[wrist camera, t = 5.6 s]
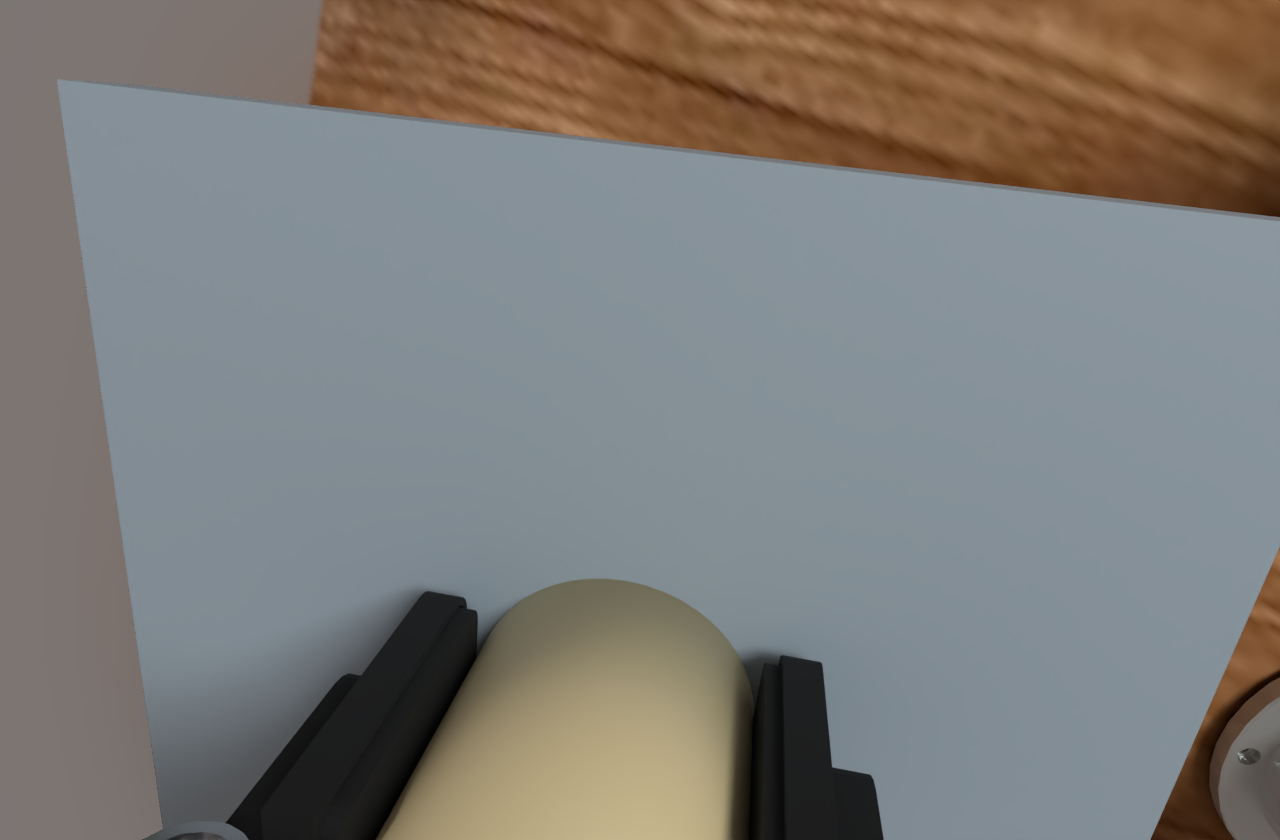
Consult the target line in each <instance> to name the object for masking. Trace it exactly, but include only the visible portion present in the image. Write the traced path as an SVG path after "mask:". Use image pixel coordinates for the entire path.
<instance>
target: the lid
mask: <svg viewBox="0 0 1280 840" xmlns="http://www.w3.org/2000/svg"><path fill="white" fill-rule="evenodd" d="M57 84H58V90H59V98H60V105H61V112H62V119H63V126H64V133H65V139H66V147H67V154H68V161H69V168H70V175H71V182H72V189H73V197H74V204H75V210H76V217H77V225H78V231H79V239H80V246H81V253H82V260H83V266H84V274H85V281H86V288H87V295H88V302H89V309H90V316H91V323H92V331H93V337H94V344H95V352H96V359H97V366H98V373H99V380H100V387H101V394H102V401H103V408H104V415H105V422H106V429H107V436H108V443H109V450H110V458H111V464H112V472H113V479H114V485H115V493H116V500H117V506H118V514H119V521H120V528H121V534H122V541H123V549H124V556H125V563H126V570H127V577H128V584H129V591H130V599H131V606H132V613H133V620H134V627H135V633H136V641H137V648H138V655H139V662H140V669H141V676H142V682H143V690H144V697H145V704H146V711H147V718H148V725H149V732H150V739H151V747H152V754H153V761H154V768H155V774H156V782H157V789H158V795H159V803H160V810H161V817H162V824H163V829H165V828H169V827H172V826H175V825H179V824H182V823H186V822H195V821H209V820H210V821H215V822H220V823H226V821H227V820H228V819H229V818H230V816H231V815H232V814H233V813H234V811H235V810H236V809H237V807H238V806H239V805H240V804H241V802H242V801H243V800H244V799H245V797H246V796H247V795H248V793H249V792H250V791H251V790H252V788H253V787H254V786H255V785H256V783H257V782H258V781H259V779H260V778H261V777H262V776H263V774H264V773H265V772H266V771H267V769H268V768H269V767H270V765H271V764H272V763H273V762H274V760H275V759H276V758H277V757H278V755H279V754H280V753H281V751H282V750H283V749H284V748H285V746H286V745H287V744H288V743H289V741H290V740H291V739H292V737H293V736H294V735H295V734H296V732H297V731H298V730H299V728H300V727H301V726H302V725H303V723H304V722H305V721H306V720H307V718H308V717H309V716H310V714H311V713H312V712H313V711H314V709H315V708H316V707H317V706H318V704H319V703H320V702H321V700H322V699H323V698H324V697H325V695H326V694H327V693H328V692H329V690H330V689H331V688H332V686H333V685H334V684H335V683H336V682H337V681H338V680H339V679H340V678H341V677H342V676H344V675H346V674H348V673H350V674H355V675H360V676H361V675H362V674H363V672H364V671H365V670H366V668H367V667H368V666H369V664H370V663H371V662H372V660H373V659H374V658H375V656H376V655H377V654H378V652H379V651H380V650H381V648H382V647H383V646H384V644H385V643H386V642H387V640H388V639H389V638H390V636H391V635H392V634H393V632H394V631H395V630H396V628H397V627H398V626H399V624H400V623H401V622H402V620H403V619H404V618H405V616H406V615H407V614H408V612H409V611H410V610H411V608H412V607H413V606H414V604H415V603H416V602H417V600H418V599H419V598H420V596H421V595H422V594H423V593H424V592H426V591H431V592H436V593H442V594H447V595H453V596H459V597H464V598H465V599H466V603H467V609H472V610H476V611H477V614H478V631H477V657H476V660H475V662H474V663H473V665H472V667H471V669H470V671H469V672H468V674H467V676H466V678H465V680H464V681H463V683H462V685H461V687H460V689H459V690H458V692H457V694H456V696H455V698H454V699H453V701H452V703H451V705H450V707H449V708H448V710H447V712H446V714H445V716H444V717H443V719H442V721H441V723H440V725H439V726H438V728H437V730H436V732H435V733H434V735H433V737H432V739H431V741H430V742H429V744H428V746H427V748H426V750H425V751H424V753H423V755H422V757H421V759H420V760H419V762H418V764H417V766H416V768H415V769H414V771H413V773H412V775H411V777H410V778H409V780H408V782H407V784H406V786H405V787H404V789H403V791H402V793H401V795H400V796H399V798H398V800H397V802H396V804H395V805H394V807H393V809H392V811H391V813H390V814H389V816H388V818H387V820H386V822H385V823H384V825H383V827H382V829H381V831H380V832H379V834H378V836H377V838H376V840H749V830H750V798H751V766H752V735H753V716H754V711H755V706H756V701H757V696H758V690H759V685H760V680H761V675H762V670H763V666H764V663H768V664H774V665H778V663H779V659H780V656H781V655H785V656H791V657H796V658H802V659H807V660H813V661H818V662H821V663H822V666H823V674H824V685H825V696H826V706H827V717H828V728H829V738H830V749H831V760H832V767H834V768H839V769H844V770H849V771H854V772H859V773H865V774H870V775H871V776H872V778H873V780H874V784H875V788H876V793H877V800H878V806H879V812H880V819H881V825H882V832H883V838H884V840H1150V839H1151V837H1152V835H1153V832H1154V830H1155V828H1156V826H1157V823H1158V821H1159V819H1160V816H1161V814H1162V812H1163V810H1164V807H1165V805H1166V803H1167V801H1168V798H1169V796H1170V794H1171V792H1172V789H1173V787H1174V785H1175V782H1176V780H1177V778H1178V776H1179V773H1180V771H1181V769H1182V767H1183V764H1184V762H1185V760H1186V758H1187V755H1188V753H1189V751H1190V749H1191V746H1192V744H1193V742H1194V739H1195V737H1196V735H1197V733H1198V730H1199V728H1200V726H1201V724H1202V721H1203V719H1204V717H1205V715H1206V712H1207V710H1208V708H1209V705H1210V703H1211V701H1212V699H1213V696H1214V694H1215V692H1216V690H1217V687H1218V685H1219V683H1220V681H1221V678H1222V676H1223V674H1224V671H1225V669H1226V667H1227V665H1228V662H1229V660H1230V658H1231V656H1232V653H1233V651H1234V649H1235V647H1236V644H1237V642H1238V640H1239V637H1240V635H1241V633H1242V631H1243V628H1244V626H1245V624H1246V622H1247V619H1248V617H1249V615H1250V613H1251V610H1252V608H1253V606H1254V603H1255V601H1256V599H1257V597H1258V594H1259V592H1260V590H1261V588H1262V585H1263V583H1264V581H1265V579H1266V576H1267V574H1268V572H1269V569H1270V567H1271V565H1272V563H1273V560H1274V558H1275V556H1276V554H1277V551H1278V549H1279V547H1280V217H1273V216H1264V215H1256V214H1247V213H1239V212H1230V211H1221V210H1213V209H1204V208H1195V207H1187V206H1178V205H1169V204H1161V203H1152V202H1144V201H1135V200H1126V199H1118V198H1109V197H1100V196H1092V195H1083V194H1074V193H1066V192H1057V191H1049V190H1040V189H1031V188H1023V187H1014V186H1005V185H997V184H988V183H979V182H971V181H962V180H954V179H945V178H936V177H928V176H919V175H910V174H902V173H893V172H884V171H876V170H867V169H859V168H850V167H841V166H833V165H824V164H815V163H807V162H798V161H789V160H781V159H772V158H763V157H755V156H746V155H738V154H729V153H720V152H712V151H703V150H694V149H686V148H677V147H668V146H660V145H651V144H643V143H634V142H625V141H617V140H608V139H599V138H591V137H582V136H573V135H565V134H556V133H548V132H539V131H530V130H522V129H513V128H504V127H496V126H487V125H478V124H470V123H461V122H453V121H444V120H435V119H427V118H418V117H409V116H401V115H392V114H383V113H375V112H366V111H357V110H349V109H340V108H332V107H323V106H314V105H306V104H297V103H288V102H280V101H271V100H262V99H253V98H245V97H237V96H227V95H219V94H210V93H202V92H193V91H185V90H176V89H167V88H159V87H149V86H141V85H133V84H118V83H104V82H103V83H102V82H90V81H75V80H60V79H57Z"/></svg>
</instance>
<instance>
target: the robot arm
mask: <svg viewBox="0 0 1280 840" xmlns="http://www.w3.org/2000/svg"><path fill="white" fill-rule="evenodd" d="M477 631H478V614H477V611H476V610H472V609H467V603H466V599H465V598H464V597H459V596H453V595H447V594H442V593H436V592H431V591H426V592H424V593H423V594H422V595H421V596H420V598H419V599H418V600H417V602H416V603H415V604H414V606H413V607H412V608H411V610H410V611H409V612H408V614H407V615H406V616H405V618H404V619H403V620H402V622H401V623H400V624H399V626H398V627H397V628H396V630H395V631H394V632H393V634H392V635H391V636H390V638H389V639H388V640H387V642H386V643H385V644H384V646H383V647H382V648H381V650H380V651H379V652H378V654H377V655H376V656H375V658H374V659H373V660H372V662H371V663H370V664H369V666H368V667H367V668H366V670H365V671H364V672H363V674H362V675H361V676H360V675H355V674H350V673H348V674H346V675H344V676H342V677H341V678H340V679H339V680H338V681H337V682H336V683H335V684H334V685H333V686H332V688H331V689H330V690H329V692H328V693H327V694H326V695H325V697H324V698H323V699H322V700H321V702H320V703H319V704H318V706H317V707H316V708H315V709H314V711H313V712H312V713H311V714H310V716H309V717H308V718H307V720H306V721H305V722H304V723H303V725H302V726H301V727H300V728H299V730H298V731H297V732H296V734H295V735H294V736H293V737H292V739H291V740H290V741H289V743H288V744H287V745H286V746H285V748H284V749H283V750H282V751H281V753H280V754H279V755H278V757H277V758H276V759H275V760H274V762H273V763H272V764H271V765H270V767H269V768H268V769H267V771H266V772H265V773H264V774H263V776H262V777H261V778H260V779H259V781H258V782H257V783H256V785H255V786H254V787H253V788H252V790H251V791H250V792H249V793H248V795H247V796H246V797H245V799H244V800H243V801H242V802H241V804H240V805H239V806H238V807H237V809H236V810H235V811H234V813H233V814H232V815H231V816H230V818H229V819H228V820H227V821H226V823H220V822H215V821H210V820H209V821H195V822H186V823H182V824H179V825H175V826H172V827H169V828H165V829H162V830H161V831H159V832H157V833H155V834H153V835H151V836H149V837H147V838H145V839H143V840H376V838H377V836H378V834H379V832H380V831H381V829H382V827H383V825H384V823H385V822H386V820H387V818H388V816H389V814H390V813H391V811H392V809H393V807H394V805H395V804H396V802H397V800H398V798H399V796H400V795H401V793H402V791H403V789H404V787H405V786H406V784H407V782H408V780H409V778H410V777H411V775H412V773H413V771H414V769H415V768H416V766H417V764H418V762H419V760H420V759H421V757H422V755H423V753H424V751H425V750H426V748H427V746H428V744H429V742H430V741H431V739H432V737H433V735H434V733H435V732H436V730H437V728H438V726H439V725H440V723H441V721H442V719H443V717H444V716H445V714H446V712H447V710H448V708H449V707H450V705H451V703H452V701H453V699H454V698H455V696H456V694H457V692H458V690H459V689H460V687H461V685H462V683H463V681H464V680H465V678H466V676H467V674H468V672H469V671H470V669H471V667H472V665H473V663H474V662H475V660H476V657H477ZM1209 787H1210V791H1211V795H1212V799H1213V803H1214V807H1215V809H1216V811H1217V812H1218V814H1219V816H1220V818H1221V820H1222V821H1223V823H1224V825H1225V827H1226V828H1227V830H1228V831H1229V832H1230V834H1231V835H1232V837H1233V838H1234V839H1235V840H1280V677H1279V678H1278V679H1276V680H1274V681H1272V682H1270V683H1269V684H1267V685H1266V686H1265V687H1264V688H1262V689H1261V690H1260V691H1259V692H1257V693H1256V694H1255V695H1254V696H1252V697H1251V698H1250V699H1249V700H1247V701H1246V702H1245V703H1244V704H1243V706H1242V707H1241V708H1240V709H1239V710H1238V711H1237V712H1236V714H1235V715H1234V716H1233V717H1232V718H1231V719H1230V720H1229V722H1228V723H1227V725H1226V727H1225V728H1224V730H1223V732H1222V734H1221V736H1220V737H1219V739H1218V741H1217V743H1216V745H1215V749H1214V752H1213V756H1212V759H1211V763H1210V779H1209ZM749 840H884V838H883V832H882V825H881V819H880V812H879V806H878V800H877V793H876V788H875V784H874V780H873V778H872V776H871V775H870V774H865V773H859V772H854V771H849V770H844V769H839V768H834V767H832V760H831V749H830V738H829V728H828V717H827V706H826V696H825V685H824V674H823V666H822V663H821V662H818V661H813V660H807V659H802V658H796V657H791V656H785V655H781V656H780V659H779V663H778V665H774V664H768V663H764V666H763V670H762V675H761V680H760V685H759V690H758V696H757V701H756V706H755V711H754V716H753V735H752V766H751V798H750V830H749Z"/></svg>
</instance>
